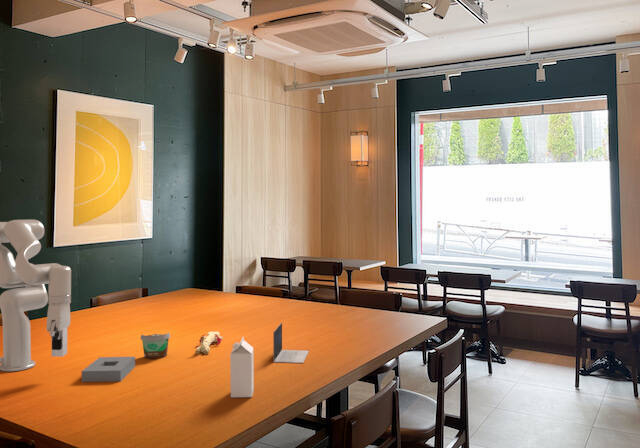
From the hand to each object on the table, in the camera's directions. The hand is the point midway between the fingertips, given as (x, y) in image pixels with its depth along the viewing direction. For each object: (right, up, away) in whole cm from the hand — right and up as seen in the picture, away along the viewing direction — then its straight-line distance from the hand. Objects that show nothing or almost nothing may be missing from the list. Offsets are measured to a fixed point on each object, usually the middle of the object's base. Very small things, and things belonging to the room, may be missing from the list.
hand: (59, 347), depth 195 cm
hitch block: (+16, -12, +6) cm, 21 cm away
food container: (+27, -11, +27) cm, 40 cm away
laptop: (+85, -11, +29) cm, 91 cm away
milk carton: (+71, -12, -16) cm, 74 cm away
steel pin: (0, -3, 0) cm, 3 cm away
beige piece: (+46, -11, +45) cm, 66 cm away
